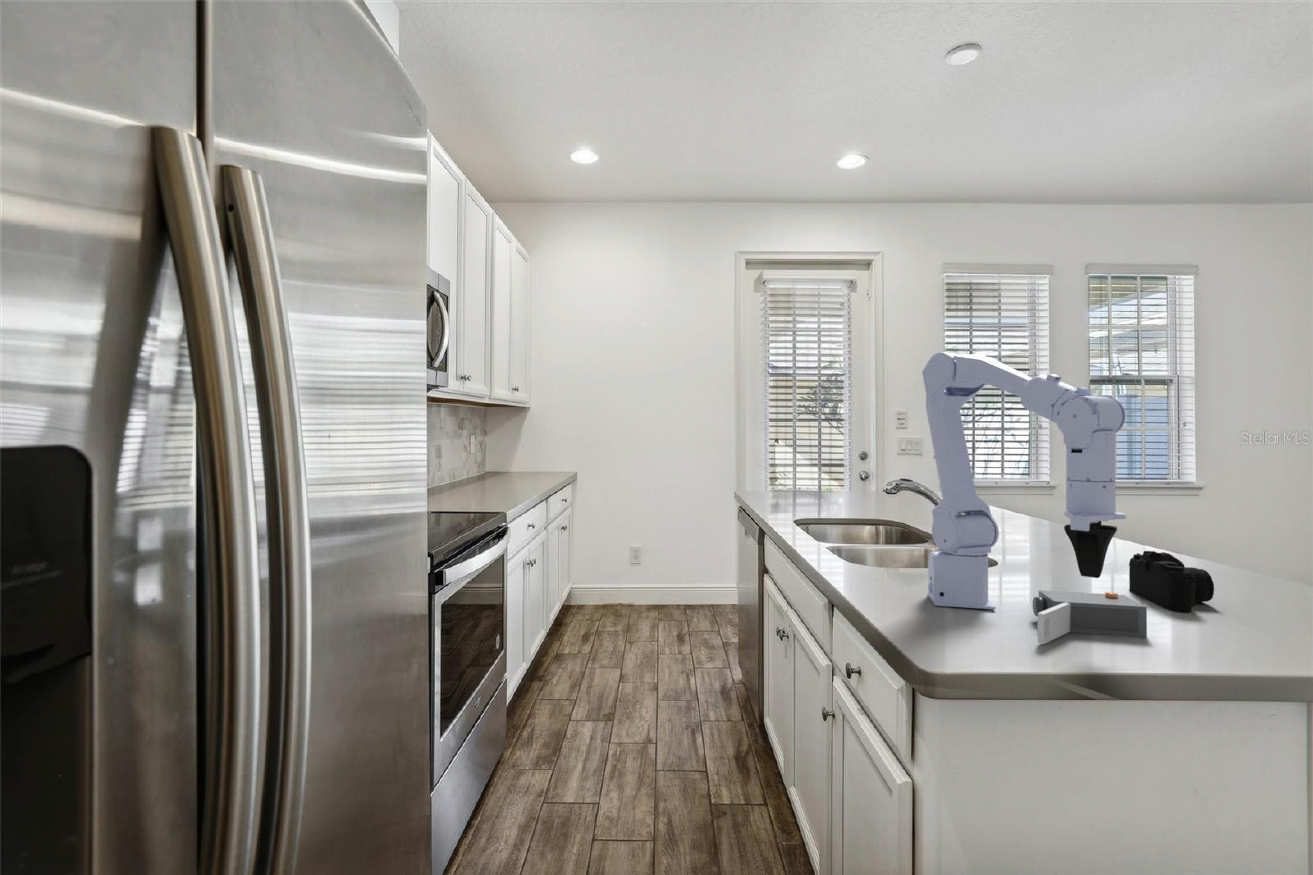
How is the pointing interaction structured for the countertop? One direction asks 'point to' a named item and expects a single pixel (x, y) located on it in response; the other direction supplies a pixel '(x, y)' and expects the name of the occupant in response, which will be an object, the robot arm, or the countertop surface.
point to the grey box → (1098, 612)
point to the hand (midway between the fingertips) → (1090, 576)
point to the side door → (1053, 622)
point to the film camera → (1168, 581)
